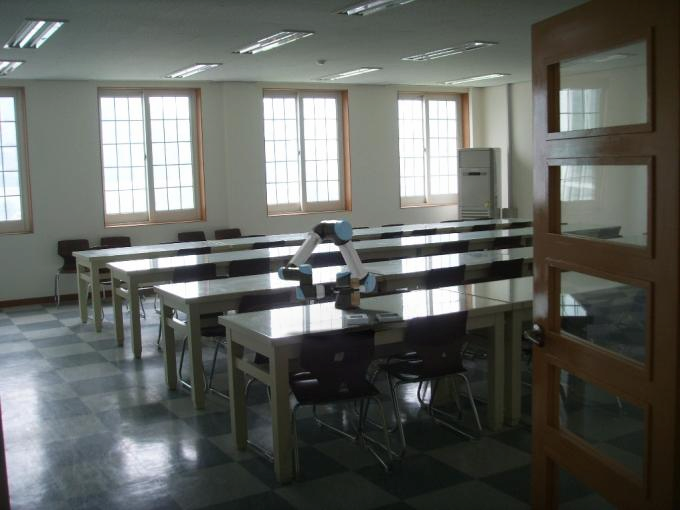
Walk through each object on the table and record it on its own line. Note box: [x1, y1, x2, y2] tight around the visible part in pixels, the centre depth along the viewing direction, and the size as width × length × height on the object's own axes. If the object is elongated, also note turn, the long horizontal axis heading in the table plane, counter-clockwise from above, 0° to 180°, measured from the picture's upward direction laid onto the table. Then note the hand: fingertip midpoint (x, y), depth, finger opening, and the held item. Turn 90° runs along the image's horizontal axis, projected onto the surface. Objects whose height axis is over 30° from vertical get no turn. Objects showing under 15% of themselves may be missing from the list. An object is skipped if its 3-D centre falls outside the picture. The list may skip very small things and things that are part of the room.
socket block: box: [344, 313, 370, 325], centre depth 429 cm, size 12×12×3 cm
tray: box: [375, 312, 404, 323], centre depth 431 cm, size 13×13×2 cm
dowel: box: [350, 278, 361, 306], centre depth 427 cm, size 5×5×15 cm
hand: (364, 288), depth 428 cm, fingers closed on dowel, 5 cm apart
